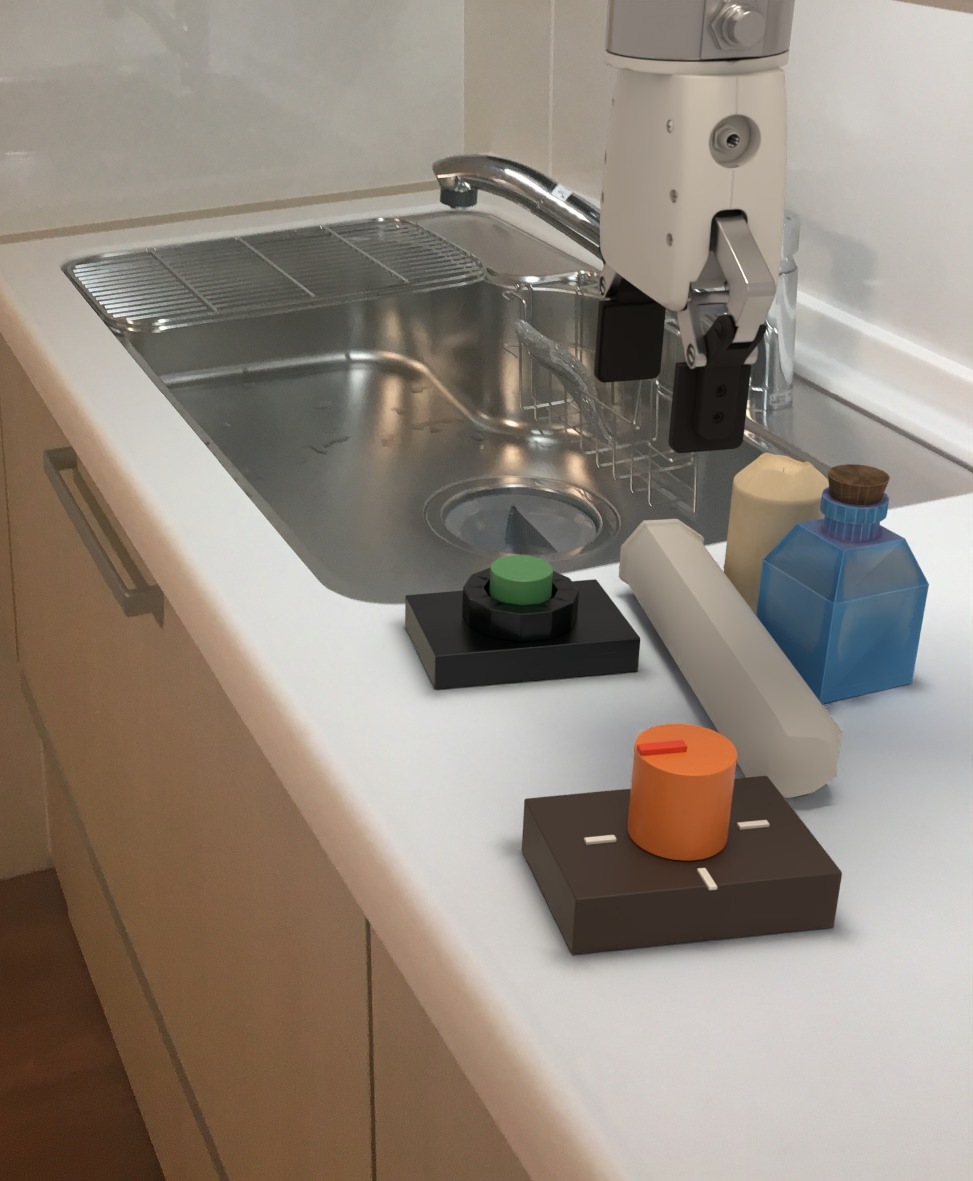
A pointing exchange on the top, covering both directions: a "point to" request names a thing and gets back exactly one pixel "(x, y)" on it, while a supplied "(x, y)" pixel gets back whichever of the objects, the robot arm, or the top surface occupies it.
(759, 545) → the candle
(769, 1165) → the top surface
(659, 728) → the dial knob
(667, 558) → the tube
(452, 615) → the button housing
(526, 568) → the button
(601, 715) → the top surface
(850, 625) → the perfume bottle
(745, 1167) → the top surface
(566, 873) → the dial block
